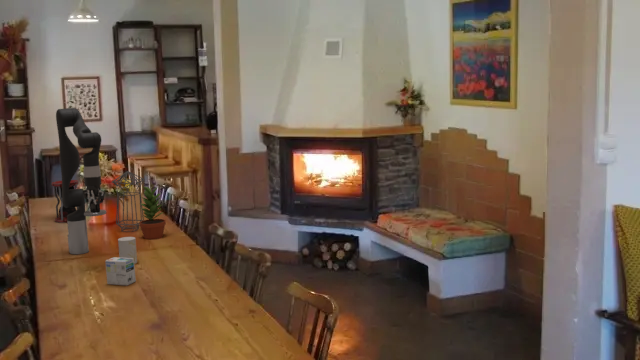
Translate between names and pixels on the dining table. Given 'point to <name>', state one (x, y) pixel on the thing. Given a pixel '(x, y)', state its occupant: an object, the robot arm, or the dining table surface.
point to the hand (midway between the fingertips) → (95, 211)
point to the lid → (93, 213)
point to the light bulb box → (120, 271)
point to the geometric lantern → (131, 198)
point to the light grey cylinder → (127, 248)
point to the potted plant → (151, 216)
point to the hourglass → (62, 211)
